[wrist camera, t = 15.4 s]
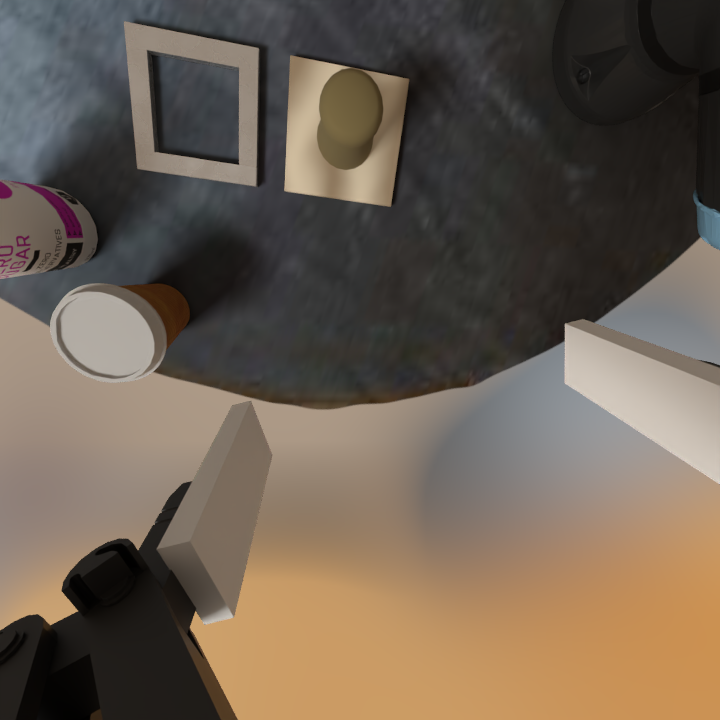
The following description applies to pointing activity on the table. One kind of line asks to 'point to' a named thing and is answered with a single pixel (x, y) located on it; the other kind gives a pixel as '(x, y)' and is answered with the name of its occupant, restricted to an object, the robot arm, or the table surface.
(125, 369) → the disposable coffee cup
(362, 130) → the cork
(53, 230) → the supplement can
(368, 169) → the birch board
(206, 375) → the table surface
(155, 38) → the shaker dock
